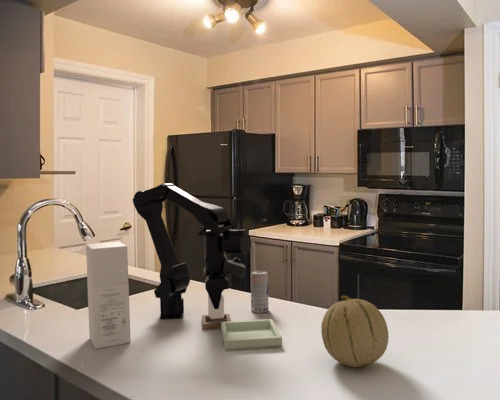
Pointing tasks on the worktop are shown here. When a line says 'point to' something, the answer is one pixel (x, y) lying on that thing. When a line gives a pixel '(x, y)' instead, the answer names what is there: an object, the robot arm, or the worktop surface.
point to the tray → (250, 335)
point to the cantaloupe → (354, 332)
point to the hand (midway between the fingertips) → (216, 306)
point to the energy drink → (259, 291)
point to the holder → (214, 324)
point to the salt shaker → (216, 312)
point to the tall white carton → (108, 294)
